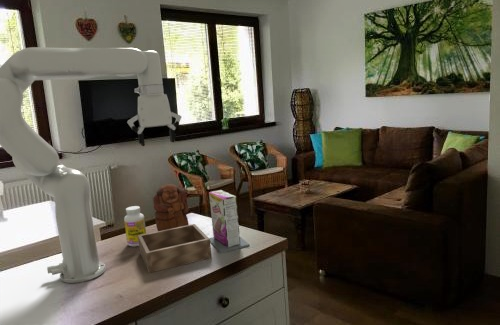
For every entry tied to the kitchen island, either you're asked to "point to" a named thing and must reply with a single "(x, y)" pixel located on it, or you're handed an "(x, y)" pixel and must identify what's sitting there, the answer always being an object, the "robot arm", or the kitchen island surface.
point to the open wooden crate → (174, 247)
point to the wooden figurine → (170, 207)
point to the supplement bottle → (134, 225)
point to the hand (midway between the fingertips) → (157, 143)
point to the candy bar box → (224, 218)
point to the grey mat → (223, 248)
